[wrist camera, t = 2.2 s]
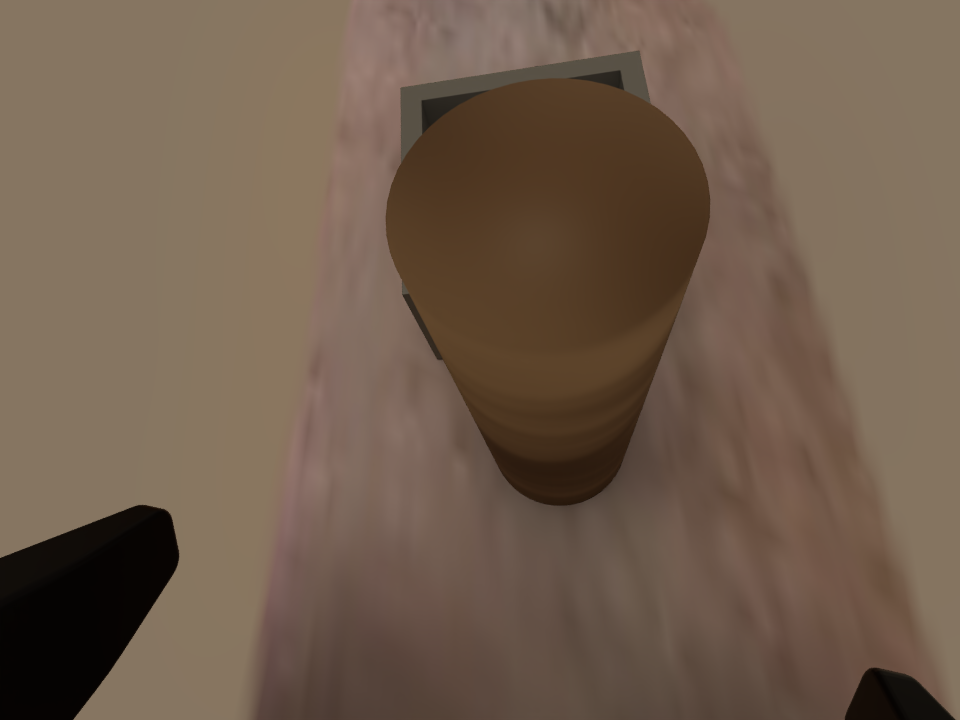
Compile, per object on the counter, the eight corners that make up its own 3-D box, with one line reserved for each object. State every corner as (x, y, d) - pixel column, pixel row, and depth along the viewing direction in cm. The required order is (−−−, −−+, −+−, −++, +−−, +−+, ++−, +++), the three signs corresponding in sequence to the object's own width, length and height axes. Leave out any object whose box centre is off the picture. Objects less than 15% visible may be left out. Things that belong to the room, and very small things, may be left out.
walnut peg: (591, 529, 19) (630, 404, 7) (470, 468, 20) (327, 274, 8) (645, 408, 20) (757, 126, 8) (527, 357, 21) (476, 48, 10)
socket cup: (659, 335, 21) (684, 260, 16) (437, 359, 22) (402, 294, 17) (626, 156, 24) (639, 50, 19) (431, 182, 25) (400, 87, 20)
